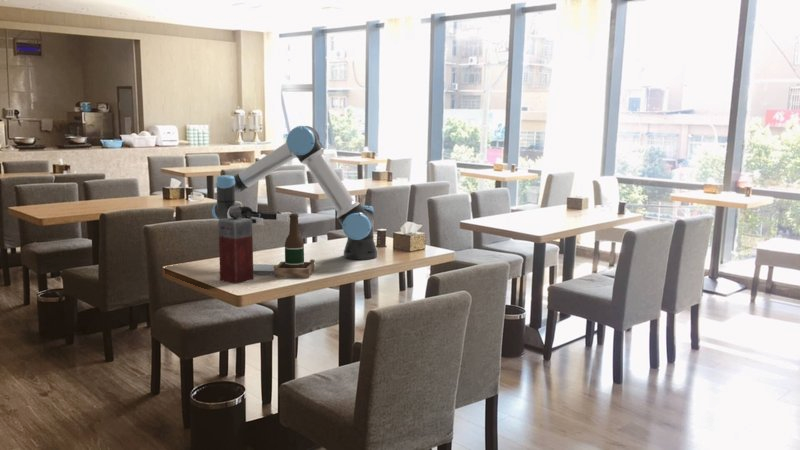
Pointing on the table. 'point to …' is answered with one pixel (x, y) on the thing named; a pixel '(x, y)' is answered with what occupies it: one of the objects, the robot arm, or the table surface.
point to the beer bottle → (294, 245)
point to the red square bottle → (235, 248)
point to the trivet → (263, 269)
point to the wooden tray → (294, 270)
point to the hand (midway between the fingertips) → (275, 220)
